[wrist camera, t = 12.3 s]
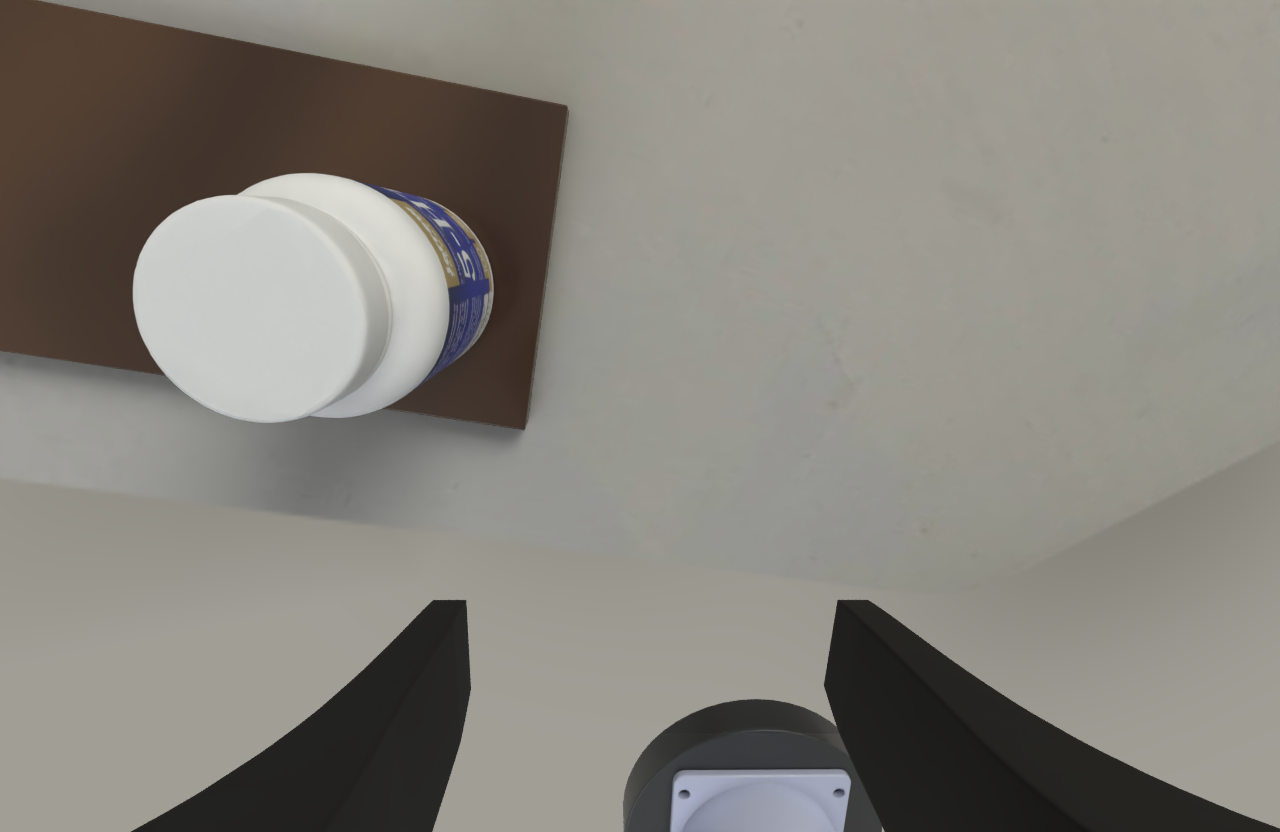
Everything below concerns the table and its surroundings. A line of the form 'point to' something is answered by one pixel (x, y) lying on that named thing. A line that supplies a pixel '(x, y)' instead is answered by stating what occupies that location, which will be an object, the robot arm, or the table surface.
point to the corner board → (248, 178)
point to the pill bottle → (309, 297)
